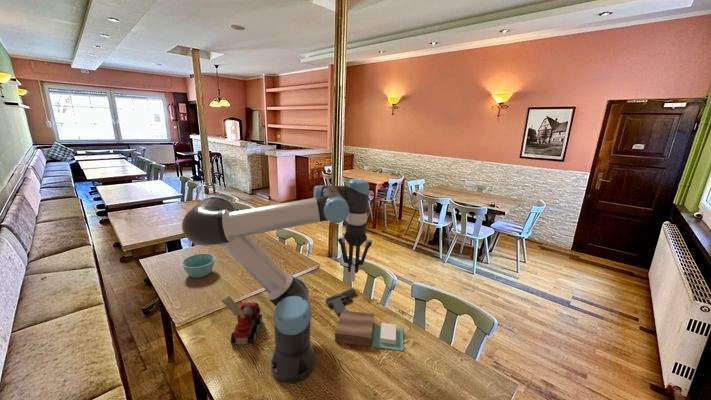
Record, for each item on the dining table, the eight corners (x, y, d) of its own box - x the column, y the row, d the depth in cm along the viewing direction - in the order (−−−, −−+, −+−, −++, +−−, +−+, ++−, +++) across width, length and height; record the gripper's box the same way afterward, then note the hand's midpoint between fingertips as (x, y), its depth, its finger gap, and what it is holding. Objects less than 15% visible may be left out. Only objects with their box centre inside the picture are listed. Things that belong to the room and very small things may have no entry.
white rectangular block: (380, 338, 110) (379, 342, 111) (395, 340, 110) (395, 344, 110) (381, 322, 119) (381, 326, 120) (395, 324, 118) (395, 328, 119)
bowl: (219, 276, 152) (217, 262, 150) (184, 284, 143) (182, 270, 141) (214, 264, 164) (212, 251, 162) (182, 271, 156) (180, 257, 154)
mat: (403, 351, 108) (403, 350, 108) (371, 346, 109) (371, 346, 109) (402, 329, 119) (402, 328, 119) (374, 325, 121) (374, 324, 120)
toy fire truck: (263, 319, 121) (261, 282, 117) (253, 347, 107) (250, 306, 102) (235, 319, 121) (232, 282, 116) (221, 348, 106) (217, 306, 101)
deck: (370, 346, 109) (371, 337, 108) (334, 341, 111) (335, 333, 110) (373, 322, 122) (374, 314, 121) (341, 318, 124) (341, 310, 123)
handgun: (368, 299, 136) (352, 287, 144) (338, 313, 124) (323, 298, 133) (367, 304, 137) (351, 291, 145) (338, 318, 125) (322, 303, 134)
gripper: (375, 220, 107) (370, 276, 113) (341, 217, 109) (338, 272, 115) (373, 227, 100) (368, 287, 106) (336, 223, 102) (334, 282, 108)
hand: (352, 279), depth 111 cm, fingers closed
